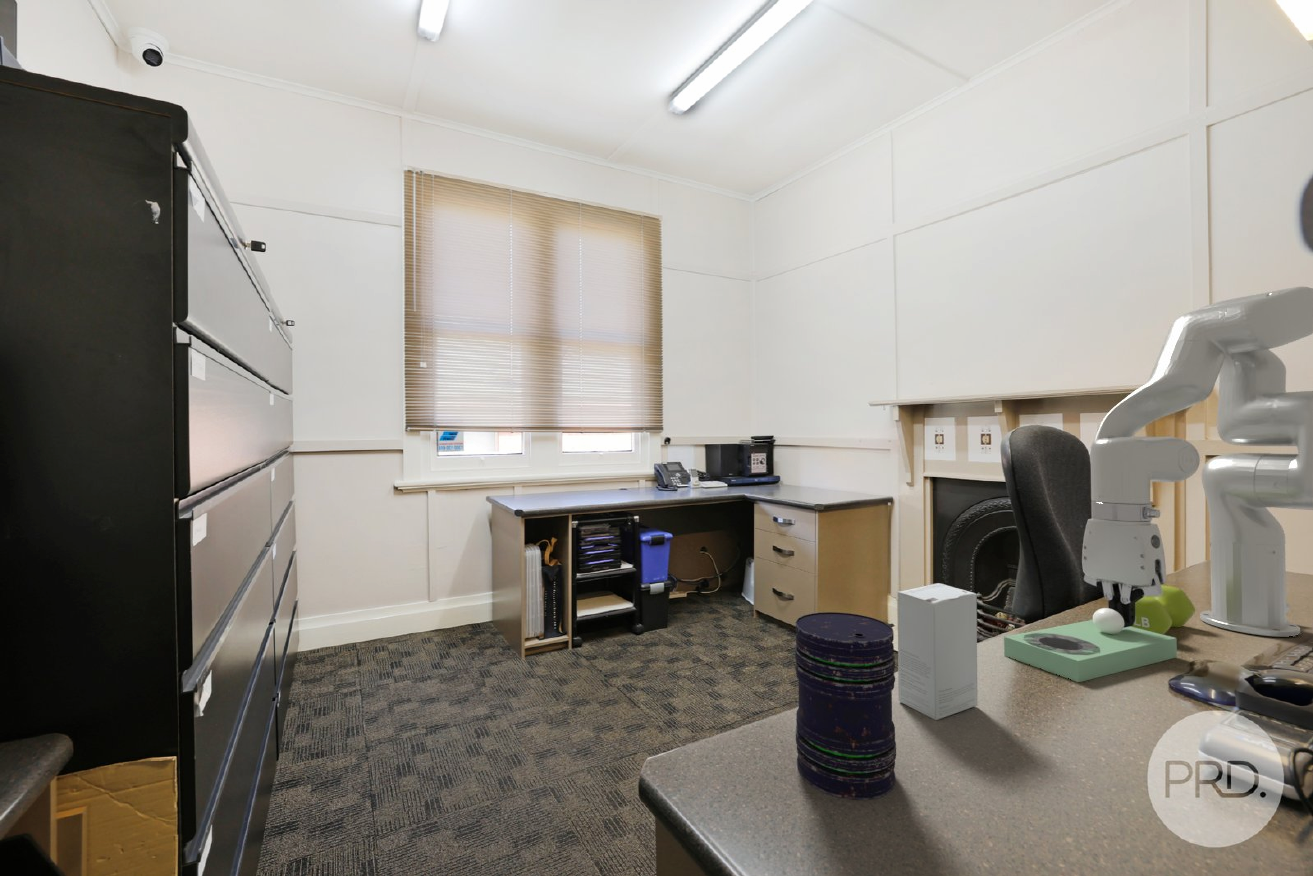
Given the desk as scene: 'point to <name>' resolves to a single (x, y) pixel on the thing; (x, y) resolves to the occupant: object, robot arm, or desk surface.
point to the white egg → (1108, 621)
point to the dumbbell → (1163, 610)
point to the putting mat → (1089, 650)
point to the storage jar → (845, 704)
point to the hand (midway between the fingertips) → (1122, 625)
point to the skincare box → (937, 649)
